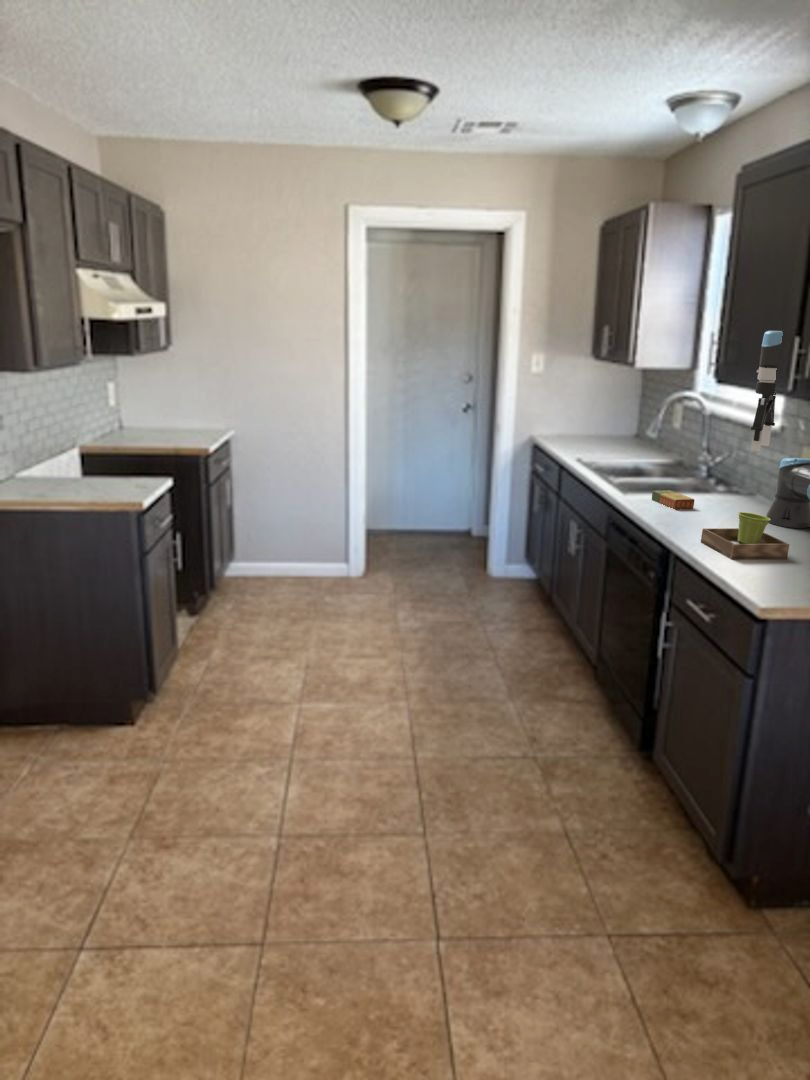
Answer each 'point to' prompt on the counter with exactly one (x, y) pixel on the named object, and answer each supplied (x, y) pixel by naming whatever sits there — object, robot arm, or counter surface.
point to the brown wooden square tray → (743, 545)
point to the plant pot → (751, 527)
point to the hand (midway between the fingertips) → (759, 448)
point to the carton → (673, 499)
